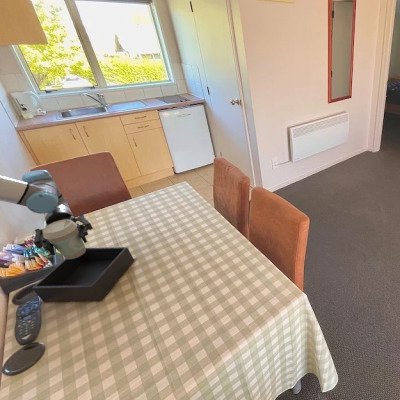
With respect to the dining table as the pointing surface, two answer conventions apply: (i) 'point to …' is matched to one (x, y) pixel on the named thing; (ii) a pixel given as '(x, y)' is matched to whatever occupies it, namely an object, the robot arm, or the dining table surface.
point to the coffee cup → (65, 238)
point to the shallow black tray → (85, 275)
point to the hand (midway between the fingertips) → (68, 245)
